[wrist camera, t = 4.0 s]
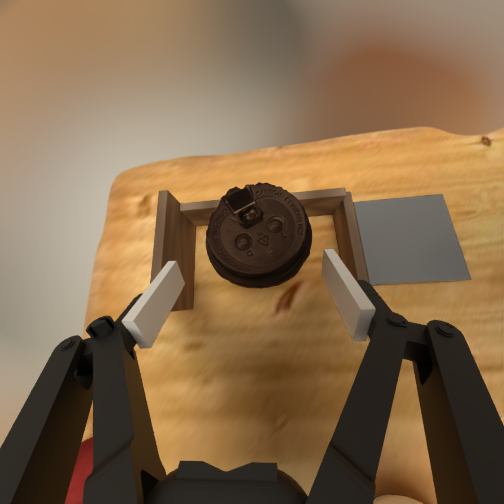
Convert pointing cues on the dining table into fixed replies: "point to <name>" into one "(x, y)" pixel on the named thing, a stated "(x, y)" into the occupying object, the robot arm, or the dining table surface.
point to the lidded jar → (394, 500)
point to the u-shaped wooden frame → (198, 213)
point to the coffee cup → (258, 236)
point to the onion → (80, 472)
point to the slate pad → (409, 241)
